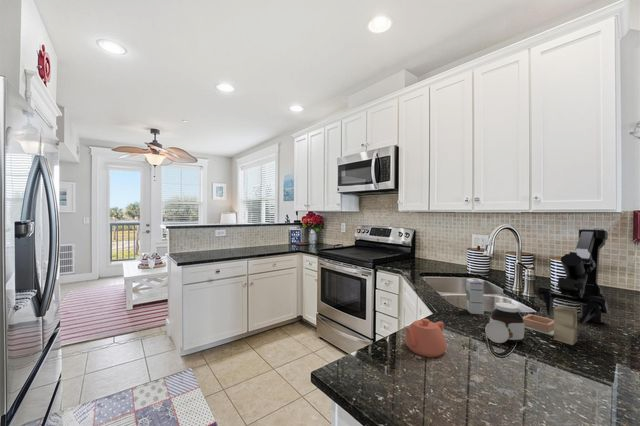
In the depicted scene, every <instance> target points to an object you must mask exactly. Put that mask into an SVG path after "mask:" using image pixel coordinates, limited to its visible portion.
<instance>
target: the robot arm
mask: <svg viewBox="0 0 640 426" xmlns="http://www.w3.org/2000/svg"><path fill="white" fill-rule="evenodd" d="M608 237H609V233H608V231H607V230H605V229H604V228H594V227H593V228H592V227H583V228H580V229H578V238H579V239H578V241H577V245H576V247H575V250H573V251H570V252H569V253H567V254H564V255H563V256H562V257H561V258H560V261H561V265H562V268H563V272H564V274H566V275H565V277H561V276H560V277H558V280H557V287H558V291H559V292H560V293H558V292H554V291H553V290H552V288H550V287H546V286H545V287H544V286H537V288H536V292H535V293H536V294H537V296H538V298H539V300H540V301H542V302H543V303H545V307H546V314H547V316H548V317H549V316H551V313H552V311H553V307H554V300H555V299H556V300H562V301H565V302H566V301H567V302H569V303H575V304H576V305H580V315H577V319H581V321H580V322H581V324H582V325H584V324H585V323H593V324H594V323H596V324H606V322H605V321H603V320H602V315H603V314H604V315H607V314H608V313H609V305H608V301H607V297H605V294H604V293H603V289H602V287H600V284H599V283H598V282H599V281H598V279H599V266H600V265H599V264H600V262H599V261H600V251H601V249H602V248H603V247H604V246H606V241H607V240H608V239H609V238H608Z"/></svg>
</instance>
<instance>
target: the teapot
mask: <svg viewBox="0 0 640 426" xmlns="http://www.w3.org/2000/svg"><path fill="white" fill-rule="evenodd" d="M444 327H445V324H444V322H443V321H440V320H439V321H436V322H432V321H430V319H428V318H422V319H419V320H415V321H412V323H411V324H410V325H409V326H403V328H404V329H405V339H404V340H405V344H406V346H407V347H408V349H409V350H410V351H411V352H413V353H414V354H416V355H419V356H422V357H425V358H427V357H428V358H437V357H440V356H442V355H443V354H444V353H446V351H447V349H448V348H447V341H446V337H445V335H444V333H443V330H444Z"/></svg>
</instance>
